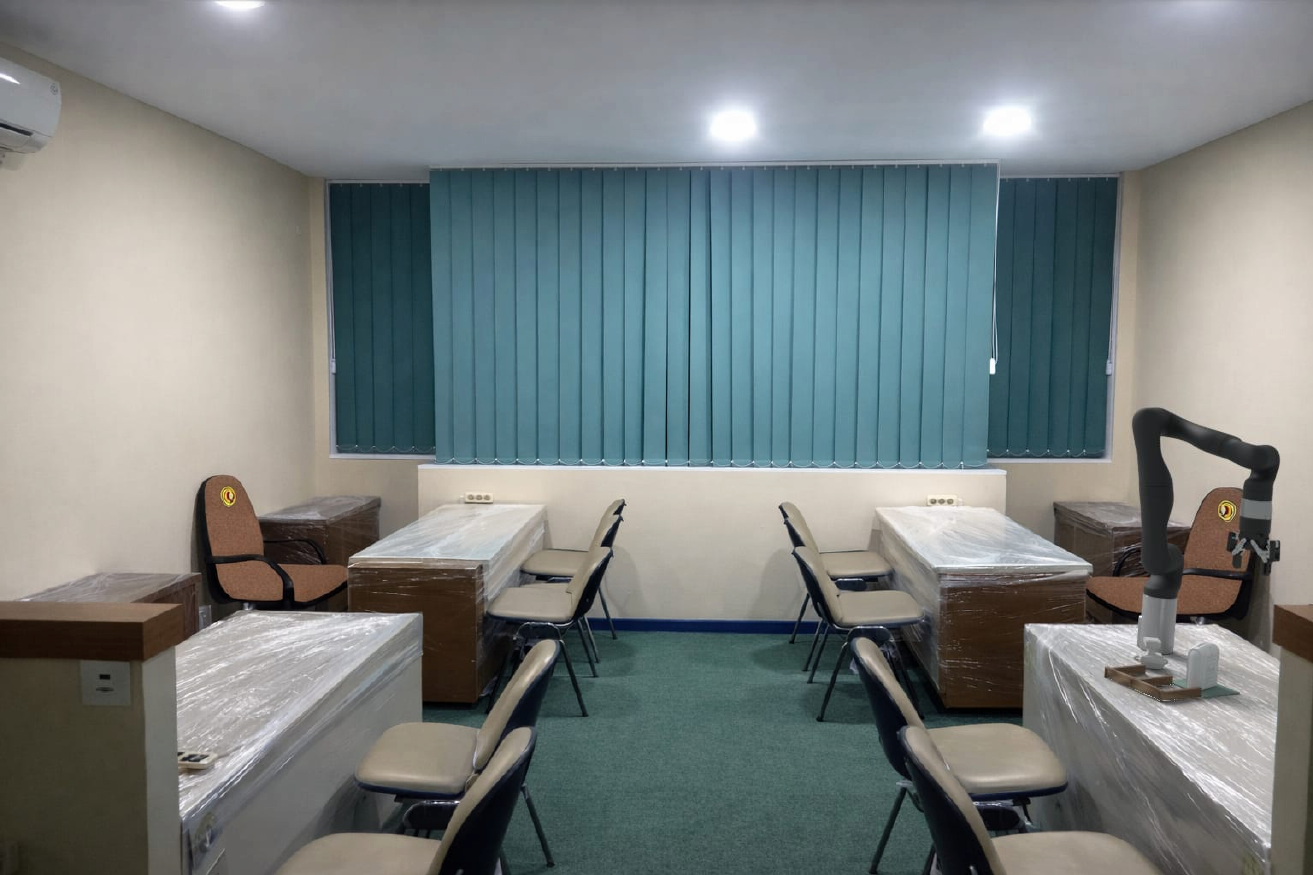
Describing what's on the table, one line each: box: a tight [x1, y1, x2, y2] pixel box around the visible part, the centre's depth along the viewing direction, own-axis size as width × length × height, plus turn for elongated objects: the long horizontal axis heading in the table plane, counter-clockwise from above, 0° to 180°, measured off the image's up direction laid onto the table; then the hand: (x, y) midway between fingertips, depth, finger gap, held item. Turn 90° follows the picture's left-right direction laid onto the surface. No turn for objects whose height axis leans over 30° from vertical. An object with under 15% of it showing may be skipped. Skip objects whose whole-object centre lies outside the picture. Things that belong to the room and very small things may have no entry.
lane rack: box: [1104, 663, 1202, 701], centre depth 244 cm, size 19×14×3 cm
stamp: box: [1133, 637, 1169, 671], centre depth 260 cm, size 9×7×8 cm
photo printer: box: [1185, 641, 1220, 690], centre depth 243 cm, size 10×4×12 cm, turn 121°
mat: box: [1172, 678, 1241, 699], centre depth 244 cm, size 12×12×1 cm
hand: (1251, 571), depth 252 cm, fingers open, 8 cm apart
